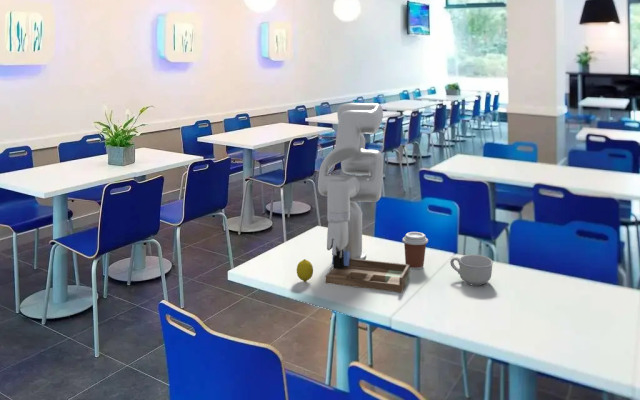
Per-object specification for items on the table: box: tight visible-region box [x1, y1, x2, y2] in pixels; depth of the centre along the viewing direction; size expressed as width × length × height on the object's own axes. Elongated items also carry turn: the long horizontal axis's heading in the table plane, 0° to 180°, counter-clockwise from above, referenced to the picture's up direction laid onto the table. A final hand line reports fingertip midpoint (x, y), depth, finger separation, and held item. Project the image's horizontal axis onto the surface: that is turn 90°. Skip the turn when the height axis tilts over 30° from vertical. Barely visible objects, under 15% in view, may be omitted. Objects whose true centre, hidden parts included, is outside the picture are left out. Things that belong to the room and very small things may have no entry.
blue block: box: [331, 251, 350, 266], centre depth 197 cm, size 5×5×5 cm
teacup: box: [449, 254, 494, 286], centre depth 190 cm, size 14×11×8 cm
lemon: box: [296, 259, 314, 283], centre depth 191 cm, size 6×6×8 cm
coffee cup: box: [402, 231, 429, 270], centre depth 204 cm, size 9×9×12 cm
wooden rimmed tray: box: [324, 258, 411, 293], centre depth 191 cm, size 13×26×5 cm, turn 70°
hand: (338, 268), depth 193 cm, fingers closed
